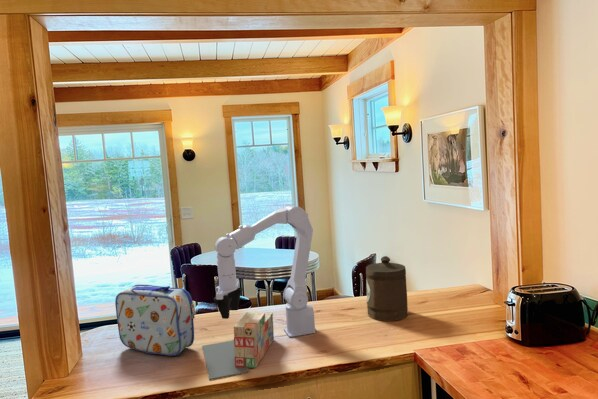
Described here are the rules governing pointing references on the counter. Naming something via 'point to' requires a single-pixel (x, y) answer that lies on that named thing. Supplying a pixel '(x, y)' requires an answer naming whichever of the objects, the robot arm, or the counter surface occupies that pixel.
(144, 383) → the counter surface
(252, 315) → the stack of blocks
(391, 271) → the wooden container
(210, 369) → the mat
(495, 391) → the counter surface
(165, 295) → the lunch box
